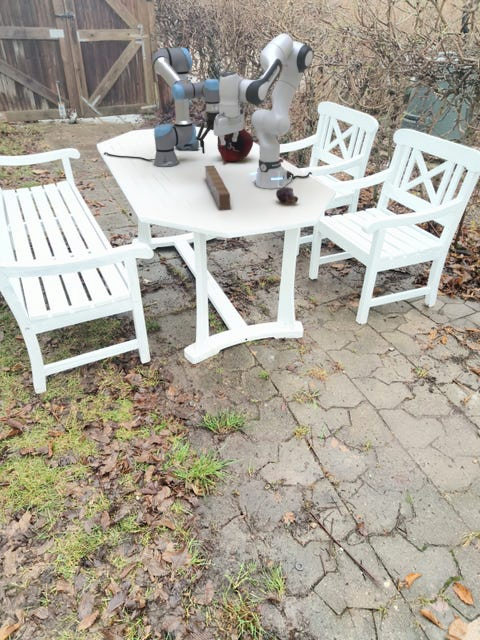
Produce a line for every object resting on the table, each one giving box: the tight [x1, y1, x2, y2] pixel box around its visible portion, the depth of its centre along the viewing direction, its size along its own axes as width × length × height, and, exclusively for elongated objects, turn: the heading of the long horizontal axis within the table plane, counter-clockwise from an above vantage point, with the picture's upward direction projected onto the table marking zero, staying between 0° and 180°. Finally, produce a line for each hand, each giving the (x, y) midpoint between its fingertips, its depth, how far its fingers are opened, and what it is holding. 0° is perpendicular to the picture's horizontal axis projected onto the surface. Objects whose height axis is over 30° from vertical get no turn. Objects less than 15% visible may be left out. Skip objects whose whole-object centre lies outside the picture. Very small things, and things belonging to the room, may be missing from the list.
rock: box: [275, 186, 299, 205], centre depth 230 cm, size 12×9×10 cm
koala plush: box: [174, 135, 200, 151], centre depth 322 cm, size 17×18×20 cm
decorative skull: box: [217, 128, 254, 165], centre depth 296 cm, size 21×24×25 cm
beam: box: [204, 165, 231, 211], centre depth 244 cm, size 52×5×8 cm, turn 11°
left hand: (215, 152), depth 256 cm, fingers open, 13 cm apart
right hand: (228, 143), depth 215 cm, fingers open, 8 cm apart
